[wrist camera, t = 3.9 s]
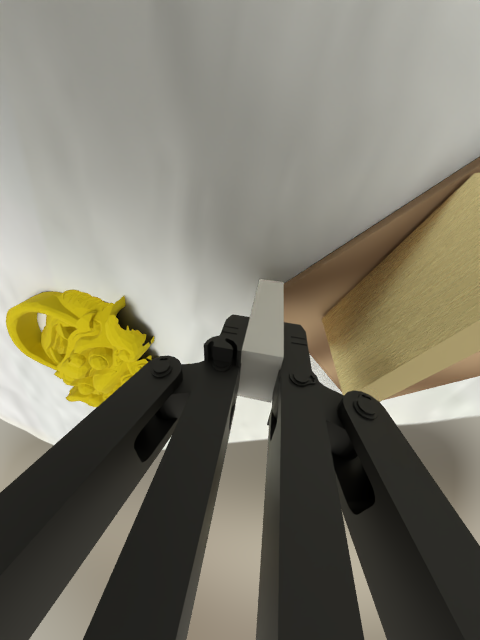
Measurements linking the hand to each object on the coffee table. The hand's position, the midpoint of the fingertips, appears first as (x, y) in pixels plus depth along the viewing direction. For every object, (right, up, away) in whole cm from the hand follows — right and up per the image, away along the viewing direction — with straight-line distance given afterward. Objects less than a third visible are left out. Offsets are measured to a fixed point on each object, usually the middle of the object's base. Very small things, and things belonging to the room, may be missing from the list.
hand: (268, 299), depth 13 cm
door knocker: (-19, -5, +12) cm, 23 cm away
